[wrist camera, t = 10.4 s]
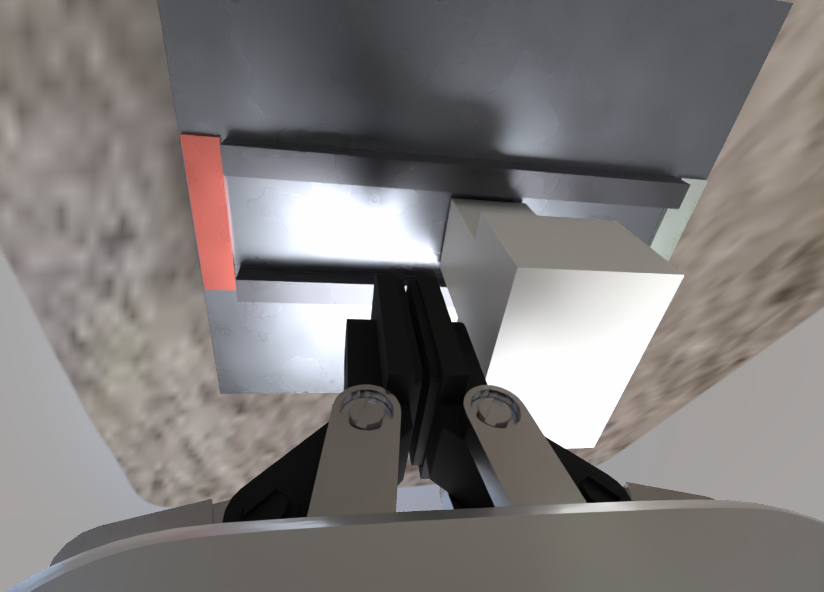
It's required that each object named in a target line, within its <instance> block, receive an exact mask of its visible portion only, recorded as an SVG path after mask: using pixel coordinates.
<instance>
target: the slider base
mask: <svg viewBox="0 0 824 592" xmlns="http://www.w3.org/2000/svg"><path fill="white" fill-rule="evenodd" d="M792 5H793V3H788V2H782V1H777V0H158V7H159V13H160V19H161V25H162V32H163V38H164V44H165V50H166V57H167V63H168V69H169V76H170V82H171V88H172V94H173V101H174V107H175V113H176V119H177V126H178V132H179V138H180V144H181V151H182V157H183V163H184V169H185V176H186V182H187V188H188V195H189V201H190V207H191V213H192V220H193V226H194V232H195V238H196V245H197V251H198V257H199V263H200V270H201V276H202V282H203V288H204V295H205V301H206V307H207V313H208V320H209V326H210V332H211V339H212V345H213V351H214V357H215V364H216V370H217V376H218V382H219V389H220V394H234V393H341V392H342V391H344V354H345V335H346V321H347V319H371V310H372V300H373V290H374V280H375V274H376V273H385V274H396V277H397V279H403V281H404V286H405V290H406V288H407V282H408V280H414V279H415V276H416V275H426V276H436V277H437V280H438V283H439V286H440V289H441V292H442V295H443V297H444V300H445V303H446V306H447V309H448V312H449V315H450V318H451V321H452V322H457V319H458V316H457V313H456V311H455V308H454V305H453V302H452V300H451V297H450V294H449V291H448V289H447V286H446V283H445V280H444V278H443V275H442V272H441V269H440V262H441V256H442V250H443V245H444V239H445V233H446V228H447V222H448V216H449V211H450V205H451V199H452V198H457V199H471V200H485V201H499V202H513V203H526V204H527V205H528V206H529V208H530V209H531V210H532V211H533V212H534V213H535V214H536V215H538V216H553V217H568V218H583V219H599V220H614V221H618V222H619V223H620V224H621V225H623V226H624V227H625V228H626V229H628V230H629V231H630V232H631V233H633V234H634V235H635V236H636V237H638V238H639V239H640V240H642V241H643V242H644V243H645V244H647V245H648V246H649V247H650V248H652V249H653V250H654V251H655V252H657V253H658V254H659V255H660V256H662V257H663V258H664V259H665V260H667V261H669V259H670V257H671V255H672V253H673V250H674V248H675V246H676V244H677V242H678V240H679V238H680V236H681V234H682V232H683V230H684V228H685V226H686V224H687V222H688V220H689V218H690V216H691V214H692V212H693V210H694V208H695V206H696V204H697V202H698V200H699V198H700V196H701V194H702V192H703V190H704V188H705V186H706V184H707V182H708V180H707V178H708V176H709V174H710V172H711V169H712V167H713V165H714V163H715V161H716V159H717V157H718V155H719V153H720V151H721V149H722V147H723V145H724V143H725V141H726V139H727V137H728V135H729V133H730V131H731V129H732V127H733V125H734V123H735V121H736V119H737V117H738V115H739V112H740V110H741V108H742V106H743V104H744V102H745V100H746V98H747V96H748V94H749V92H750V90H751V88H752V86H753V84H754V82H755V80H756V78H757V76H758V74H759V72H760V70H761V68H762V66H763V64H764V62H765V60H766V57H767V55H768V53H769V51H770V49H771V47H772V45H773V43H774V41H775V39H776V37H777V35H778V33H779V31H780V29H781V27H782V25H783V23H784V21H785V19H786V17H787V15H788V13H789V11H790V9H791V7H792Z"/></svg>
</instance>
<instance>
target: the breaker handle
mask: <svg viewBox="0 0 824 592" xmlns="http://www.w3.org/2000/svg"><path fill="white" fill-rule="evenodd" d="M440 269H441V272H442V275H443V278H444V280H445V283H446V286H447V289H448V291H449V294H450V297H451V300H452V302H453V305H454V308H455V311H456V313H457V316H458V319H457V322H462V323H464V325H465V326H466V329H467V332H468V334H469V337H470V340H471V342H472V345H473V347H474V350H475V353H476V355H477V358H478V361H479V363H480V366H481V369H482V371H483V374H484V377H485V379H486V382H487V385H494V386H498V387H502V388H504V389H506V390H508V391H510V392H512V393H513V394H515V395H516V396H517V397H518V398H519V399H520V400H521V401H522V402H523V403H524V405H525V406H526V408H527V409H528V411H529V413H530V414H531V416H532V417H533V419H534V420H535V422H536V424H537V425H538V427H539V428H540V430H541V431H542V433H543V435H544V436H545V437H547V438H548V439H550V440H552V441H553V442H555V443H557V444H558V445H560V446H562V447H563V448H594V446H595V444H596V442H597V440H598V439H599V437H600V435H601V433H602V431H603V429H604V427H605V425H606V423H607V421H608V420H609V418H610V416H611V414H612V412H613V410H614V408H615V406H616V404H617V402H618V401H619V399H620V397H621V395H622V393H623V391H624V389H625V387H626V385H627V383H628V382H629V380H630V378H631V376H632V374H633V372H634V370H635V368H636V366H637V365H638V363H639V361H640V359H641V357H642V355H643V353H644V351H645V349H646V347H647V346H648V344H649V342H650V340H651V338H652V336H653V334H654V332H655V330H656V328H657V327H658V325H659V323H660V321H661V319H662V317H663V315H664V313H665V311H666V309H667V308H668V306H669V304H670V302H671V300H672V298H673V296H674V294H675V292H676V290H677V289H678V287H679V285H680V283H681V281H682V279H683V277H684V274H683V273H682V272H680V271H679V270H678V269H677V268H675V267H674V266H673V265H672V264H670V263H669V262H668V261H667V260H665V259H664V258H663V257H662V256H660V255H659V254H658V253H657V252H655V251H654V250H653V249H652V248H650V247H649V246H648V245H647V244H645V243H644V242H643V241H642V240H640V239H639V238H638V237H636V236H635V235H634V234H633V233H631V232H630V231H629V230H628V229H626V228H625V227H624V226H623V225H621V224H620V223H619V222H618V221H614V220H599V219H583V218H568V217H553V216H538V215H536V214H535V213H534V212H533V211H532V210H531V209H530V208H529V206H528V205H527V204H526V203H513V202H499V201H485V200H471V199H457V198H452V199H451V205H450V211H449V216H448V222H447V228H446V233H445V239H444V245H443V250H442V256H441V262H440Z"/></svg>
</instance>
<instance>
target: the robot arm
mask: <svg viewBox="0 0 824 592" xmlns="http://www.w3.org/2000/svg"><path fill="white" fill-rule="evenodd" d="M408 453H409V454H410V460H411V464H412V465H418V466H419V472H420V478H421V479H429V478H430V479H431V480H432V481H433V482H435V483H436V484H437V485H439V486H440V497H441V501H442V504H443V507H444V510H432V511H412V512H396V499H397V486H398V485H399V483H400V482H401V481H402V480H403V477H404V472H405V467H406V463H407V458H408ZM6 592H824V522H823V521H820V520H818V519H815V518H813V517H810V516H807V515H803V514H800V513H797V512H794V511H790V510H787V509H782V508H777V507H773V506H767V505H763V504H757V503H750V502H739V501H729V500H715V499H712V498H709V497H706V496H700V495H695V494H689V493H684V492H678V491H673V490H667V489H662V488H655V487H650V486H644V485H640V484H634V483H629V482H627V483H626V484H625V485H624V487H622V486H621V485H620V484H619V483H618V482H617V481H616V480H614V479H613V478H611V477H610V476H609V475H608V474H606V473H604V472H603V471H601V470H599V469H598V468H596V467H595V466H593V465H591V464H590V463H588V462H586V461H585V460H583V459H581V458H580V457H578V456H576V455H575V454H573V453H571V452H570V451H568V450H567V449H565V448H563V447H562V446H560V445H558V444H557V443H555V442H553V441H552V440H550V439H548V438H547V437H545V436H544V435H543V433H542V431H541V430H540V428H539V427H538V425H537V424H536V422H535V420H534V419H533V417H532V416H531V414H530V413H529V411H528V409H527V408H526V406H525V405H524V403H523V402H522V401H521V400H520V399H519V398H518V397H517V396H516V395H515V394H513V393H512V392H510V391H508V390H506V389H504V388H502V387H498V386H494V385H487V382H486V379H485V377H484V374H483V371H482V369H481V366H480V363H479V361H478V358H477V355H476V353H475V350H474V347H473V345H472V342H471V340H470V337H469V334H468V332H467V329H466V326H465V325H464V323H462V322H452V321H451V318H450V315H449V312H448V309H447V306H446V303H445V300H444V297H443V295H442V292H441V289H440V286H439V283H438V280H437V277H436V276H426V275H416V276H415V279H414V280H408V282H407V288H406V290H405V286H404V281H403V279H397V277H396V274H385V273H376V274H375V280H374V290H373V300H372V310H371V319H347V321H346V335H345V354H344V391H342V392H341V393H340V394H339V395H338V396H337V397H336V399H335V401H334V404H333V406H332V411H331V415H330V419H329V422H328V423H327V424H325V425H324V426H323V427H321V428H320V429H319V430H317V431H316V432H315V433H313V434H312V435H311V436H310V437H308V438H307V439H306V440H304V441H303V442H302V443H300V444H299V445H298V446H296V447H295V448H294V449H292V450H291V451H290V452H289V453H287V454H286V455H285V456H283V457H282V458H281V459H279V460H278V461H277V462H275V463H274V464H273V465H271V466H270V467H269V468H267V469H266V470H265V471H264V472H262V473H261V474H260V475H258V476H257V477H256V478H254V479H253V480H252V481H250V482H249V483H248V484H246V485H245V486H244V487H243V488H241V489H240V490H239V491H238V492H237V493H236V494H235V495H234V496H233V497H232V499H231V500H227V501H223V502H219V503H215V504H213V502H212V499H209V500H205V501H201V502H197V503H192V504H188V505H184V506H180V507H176V508H172V509H168V510H164V511H160V512H155V513H151V514H147V515H143V516H139V517H135V518H131V519H127V520H123V521H118V522H114V523H110V524H106V525H102V526H98V527H96V528H93V529H91V530H88V531H86V532H83V533H81V534H80V535H78V536H77V537H76V538H74V539H73V540H71V541H70V542H68V543H67V544H66V545H65V546H64V547H63V548H62V549H61V551H60V552H59V553H58V554H57V555H56V556H55V557H54V559H53V561H52V563H51V565H50V567H49V568H47V569H45V570H43V571H40V572H39V573H37V574H35V575H33V576H31V577H29V578H27V579H25V580H24V581H22V582H20V583H18V584H17V585H15V586H14V587H12V588H11V589H9V590H7V591H6Z"/></svg>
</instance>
